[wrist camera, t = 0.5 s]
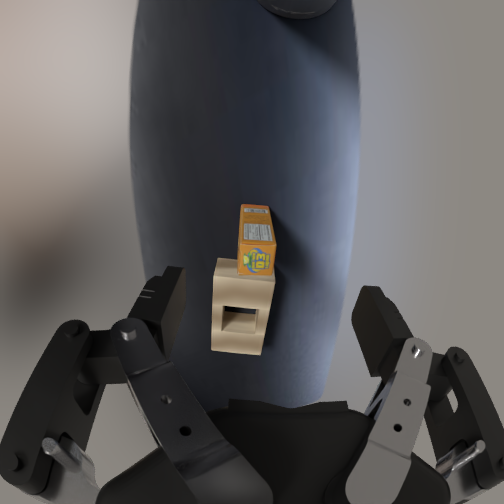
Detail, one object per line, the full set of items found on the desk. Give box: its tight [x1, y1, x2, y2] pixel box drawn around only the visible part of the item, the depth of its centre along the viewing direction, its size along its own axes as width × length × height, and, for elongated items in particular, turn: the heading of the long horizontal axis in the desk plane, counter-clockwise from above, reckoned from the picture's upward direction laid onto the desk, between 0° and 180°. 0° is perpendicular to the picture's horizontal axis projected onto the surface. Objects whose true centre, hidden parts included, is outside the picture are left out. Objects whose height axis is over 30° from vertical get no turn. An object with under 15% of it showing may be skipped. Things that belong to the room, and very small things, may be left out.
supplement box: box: [237, 204, 277, 276], centre depth 28 cm, size 3×3×10 cm
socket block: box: [211, 258, 275, 355], centre depth 37 cm, size 13×7×4 cm, turn 174°
